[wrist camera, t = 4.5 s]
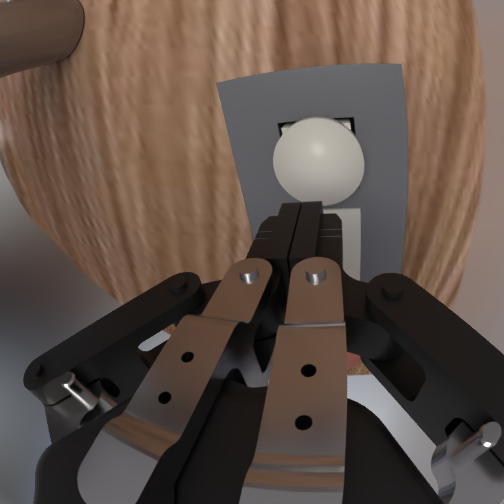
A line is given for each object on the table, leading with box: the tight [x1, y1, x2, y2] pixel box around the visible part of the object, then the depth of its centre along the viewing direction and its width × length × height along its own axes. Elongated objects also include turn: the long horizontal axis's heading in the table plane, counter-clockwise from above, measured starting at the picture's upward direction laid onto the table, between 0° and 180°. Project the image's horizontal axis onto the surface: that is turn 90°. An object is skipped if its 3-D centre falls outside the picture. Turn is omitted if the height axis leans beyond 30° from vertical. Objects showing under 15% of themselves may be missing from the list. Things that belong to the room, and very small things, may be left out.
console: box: [216, 64, 408, 283], centre depth 25 cm, size 27×12×7 cm, turn 12°
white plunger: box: [273, 116, 364, 206], centre depth 20 cm, size 6×6×8 cm
